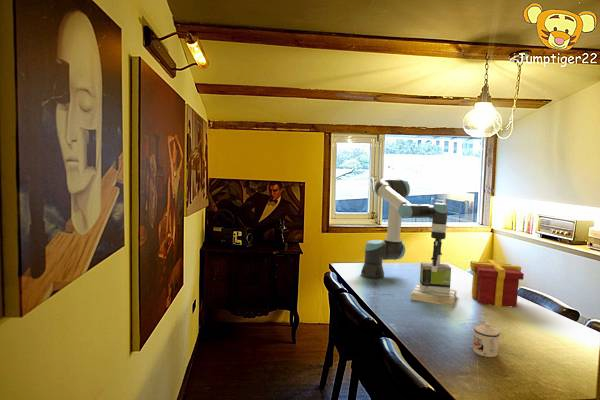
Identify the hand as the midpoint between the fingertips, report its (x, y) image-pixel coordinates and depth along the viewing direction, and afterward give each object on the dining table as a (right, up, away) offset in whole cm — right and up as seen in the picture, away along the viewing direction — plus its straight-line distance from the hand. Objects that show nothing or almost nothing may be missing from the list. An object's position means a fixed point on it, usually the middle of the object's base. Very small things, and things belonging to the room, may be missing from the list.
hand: (435, 269), depth 223 cm
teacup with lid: (-3, -22, -67) cm, 71 cm away
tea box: (-1, -12, +1) cm, 13 cm away
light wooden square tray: (-1, -16, +1) cm, 16 cm away
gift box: (+33, -18, +2) cm, 37 cm away
